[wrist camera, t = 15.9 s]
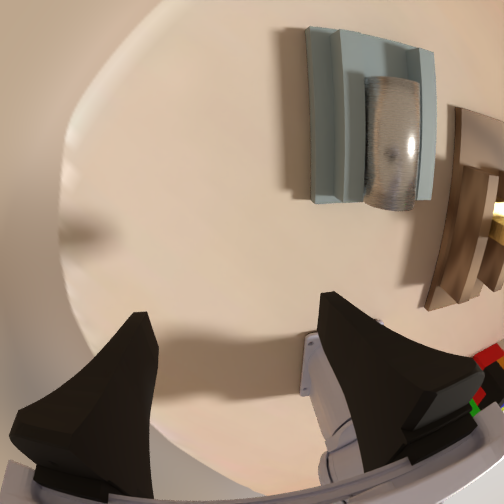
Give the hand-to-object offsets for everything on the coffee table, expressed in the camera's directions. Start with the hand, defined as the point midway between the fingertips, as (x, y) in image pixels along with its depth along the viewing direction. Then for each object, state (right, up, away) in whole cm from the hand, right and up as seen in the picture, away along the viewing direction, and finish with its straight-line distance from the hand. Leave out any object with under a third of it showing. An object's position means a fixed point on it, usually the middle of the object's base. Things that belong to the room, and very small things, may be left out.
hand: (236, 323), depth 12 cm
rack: (+9, +12, +6) cm, 17 cm away
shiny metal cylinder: (+10, +11, +5) cm, 15 cm away
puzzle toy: (+42, -17, +25) cm, 52 cm away
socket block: (+23, +6, +10) cm, 26 cm away
